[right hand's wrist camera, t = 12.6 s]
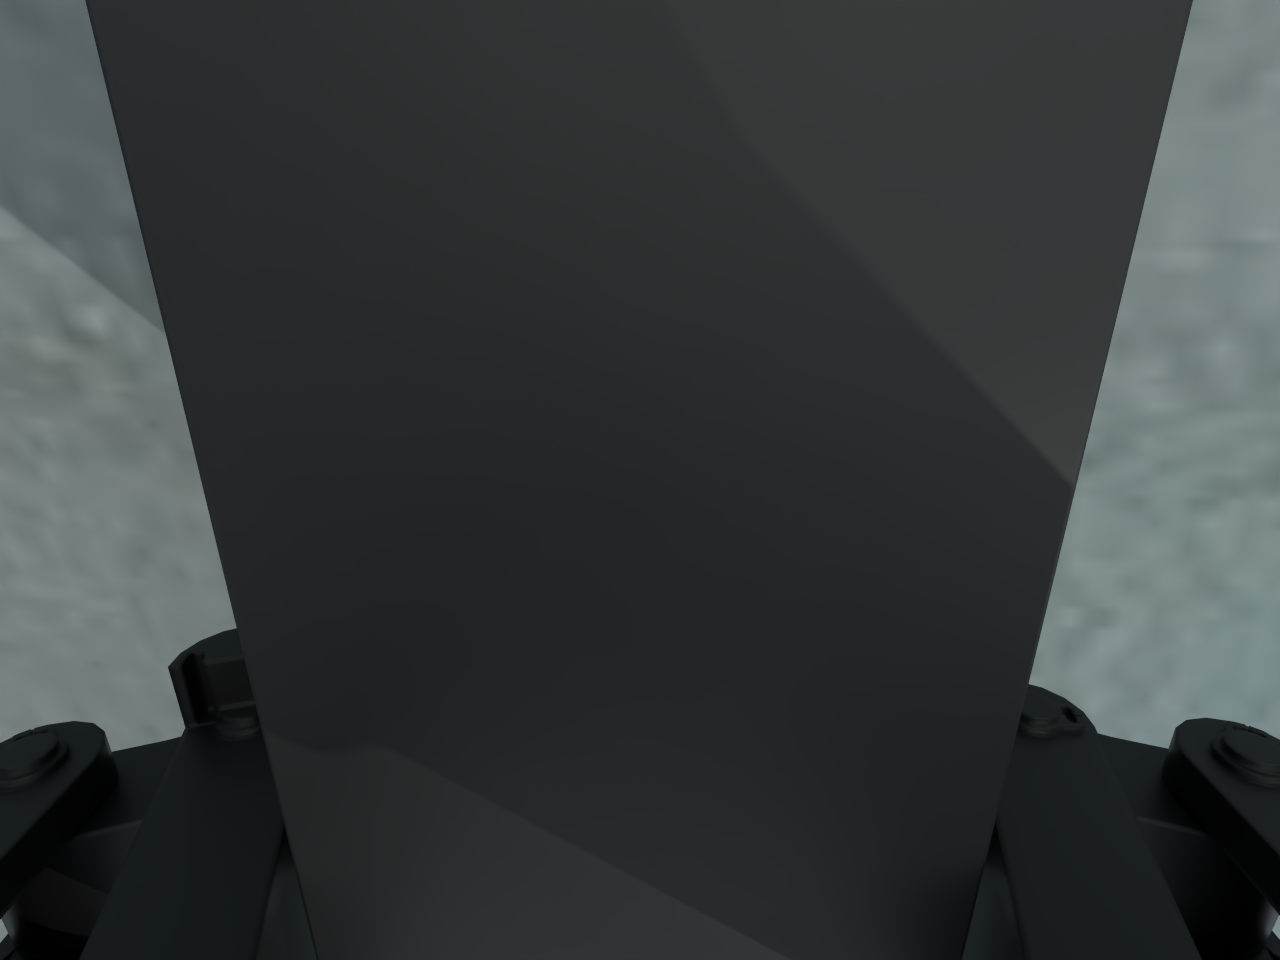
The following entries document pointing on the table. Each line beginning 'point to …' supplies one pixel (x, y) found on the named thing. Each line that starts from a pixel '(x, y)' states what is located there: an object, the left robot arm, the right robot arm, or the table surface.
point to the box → (639, 437)
